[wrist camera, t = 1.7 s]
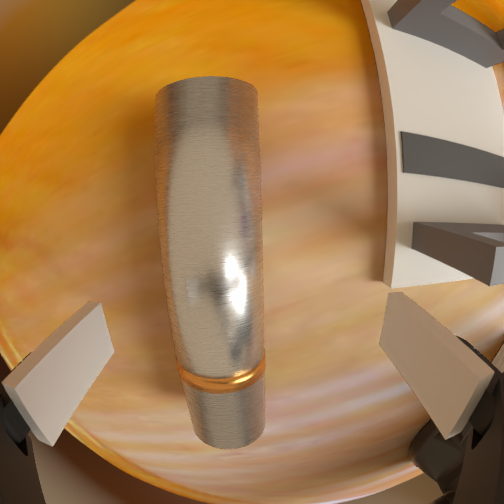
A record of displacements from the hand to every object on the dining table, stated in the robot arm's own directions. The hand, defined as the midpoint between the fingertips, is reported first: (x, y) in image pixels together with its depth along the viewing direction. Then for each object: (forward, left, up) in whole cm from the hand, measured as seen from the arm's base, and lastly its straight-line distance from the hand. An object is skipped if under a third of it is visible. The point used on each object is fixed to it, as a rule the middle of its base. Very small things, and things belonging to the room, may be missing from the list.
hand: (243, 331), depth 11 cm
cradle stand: (+12, -18, -9) cm, 23 cm away
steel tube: (0, +2, -6) cm, 6 cm away
